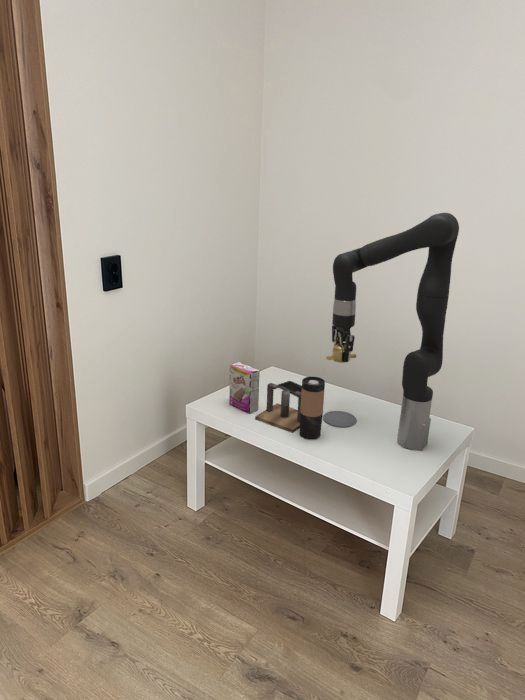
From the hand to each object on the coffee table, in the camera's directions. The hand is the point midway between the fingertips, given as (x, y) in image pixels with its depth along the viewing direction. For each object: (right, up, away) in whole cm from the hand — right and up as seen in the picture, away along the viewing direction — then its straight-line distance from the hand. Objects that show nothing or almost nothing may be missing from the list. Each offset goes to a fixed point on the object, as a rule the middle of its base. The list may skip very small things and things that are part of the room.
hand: (341, 358), depth 191 cm
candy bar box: (-34, -19, +16) cm, 42 cm away
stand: (-19, -22, +8) cm, 30 cm away
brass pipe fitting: (0, 0, 0) cm, 0 cm away
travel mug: (-11, -26, -2) cm, 28 cm away
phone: (-14, -14, +32) cm, 37 cm away
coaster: (+1, -22, +9) cm, 24 cm away
